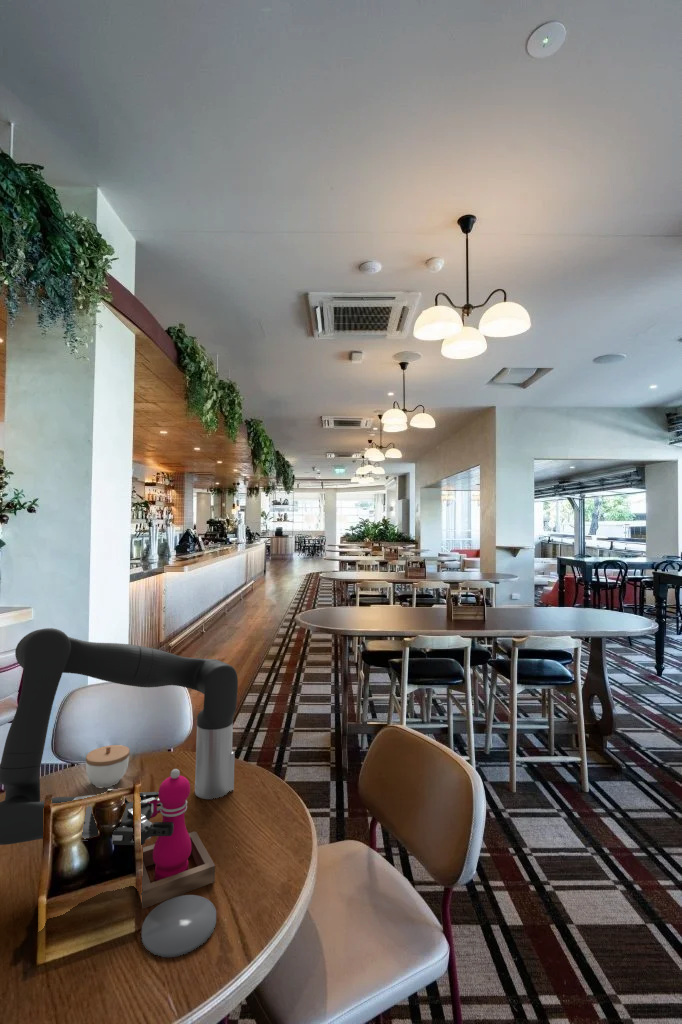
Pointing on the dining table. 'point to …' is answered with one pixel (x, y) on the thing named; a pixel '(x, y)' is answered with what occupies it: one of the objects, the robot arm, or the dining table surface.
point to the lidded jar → (107, 765)
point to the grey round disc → (178, 925)
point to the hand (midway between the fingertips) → (179, 815)
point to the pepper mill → (177, 847)
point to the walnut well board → (177, 875)
